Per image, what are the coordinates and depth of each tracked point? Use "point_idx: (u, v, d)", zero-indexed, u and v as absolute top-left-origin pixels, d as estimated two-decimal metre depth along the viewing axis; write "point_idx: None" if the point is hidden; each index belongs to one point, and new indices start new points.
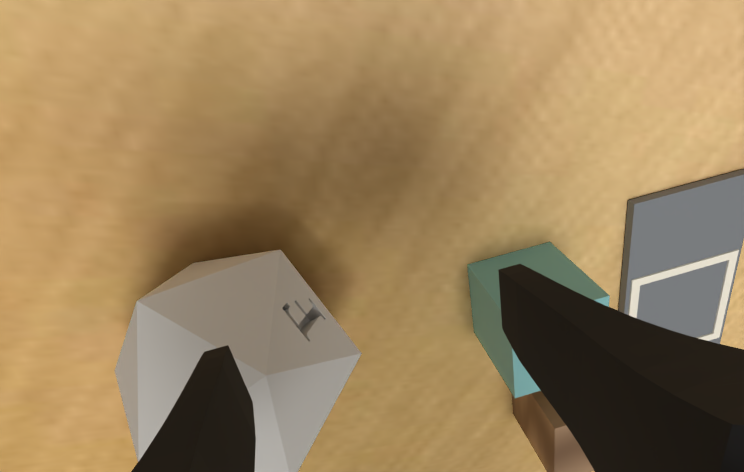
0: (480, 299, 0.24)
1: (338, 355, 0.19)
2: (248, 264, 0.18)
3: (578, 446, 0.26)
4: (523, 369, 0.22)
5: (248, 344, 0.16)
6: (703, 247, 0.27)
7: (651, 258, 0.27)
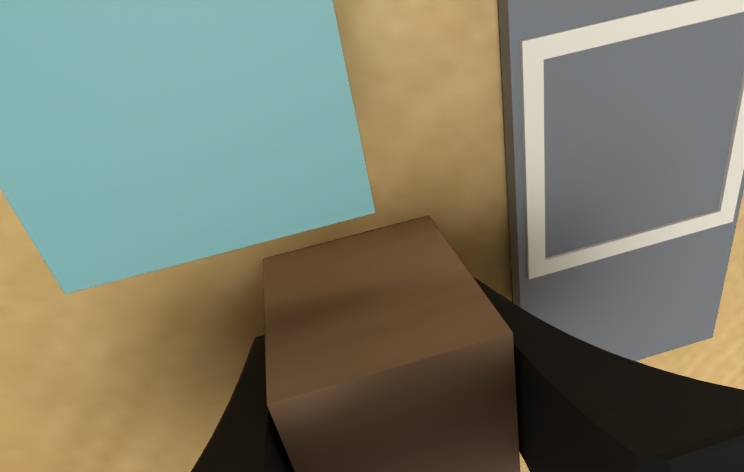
0: None
1: None
2: None
3: (364, 455, 0.10)
4: (37, 175, 0.06)
5: None
6: None
7: None
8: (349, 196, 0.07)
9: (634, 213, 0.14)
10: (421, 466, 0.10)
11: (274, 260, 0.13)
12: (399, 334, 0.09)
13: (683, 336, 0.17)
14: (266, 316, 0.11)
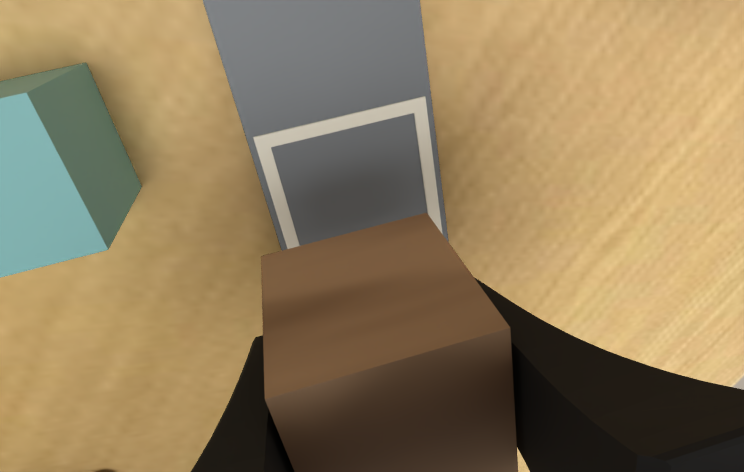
0: None
1: None
2: None
3: (362, 450, 0.10)
4: None
5: None
6: (362, 87, 0.18)
7: (275, 101, 0.17)
8: (91, 242, 0.14)
9: None
10: (419, 461, 0.10)
11: (272, 257, 0.13)
12: (397, 329, 0.09)
13: None
14: (264, 312, 0.11)
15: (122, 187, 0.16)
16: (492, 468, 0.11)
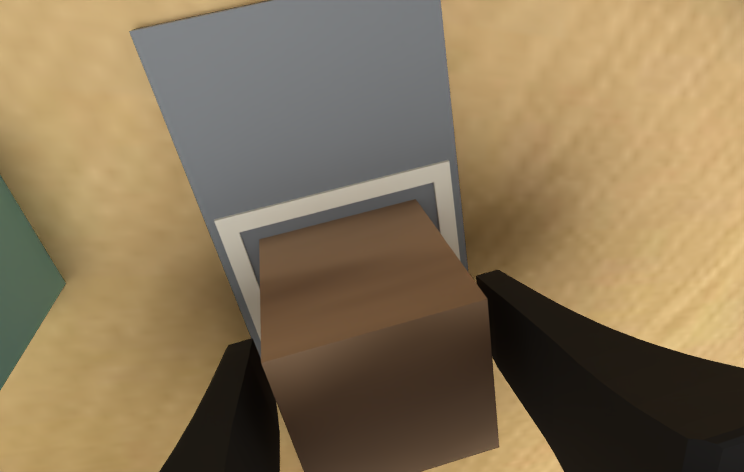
0: None
1: None
2: None
3: (351, 414, 0.10)
4: None
5: None
6: (363, 152, 0.13)
7: (243, 172, 0.13)
8: None
9: None
10: (405, 426, 0.11)
11: (270, 240, 0.13)
12: (384, 302, 0.10)
13: None
14: (261, 288, 0.11)
15: (25, 301, 0.12)
16: (474, 435, 0.12)
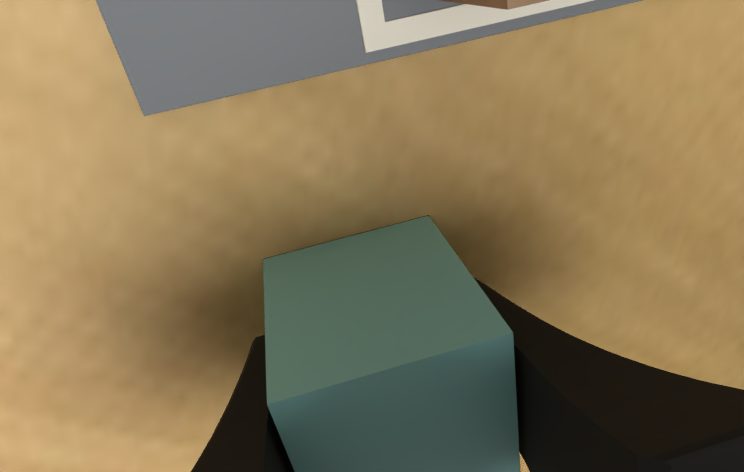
0: None
1: None
2: None
3: None
4: None
5: None
6: None
7: (303, 6, 0.10)
8: (495, 351, 0.09)
9: None
10: None
11: None
12: None
13: None
14: None
15: (424, 257, 0.12)
16: None
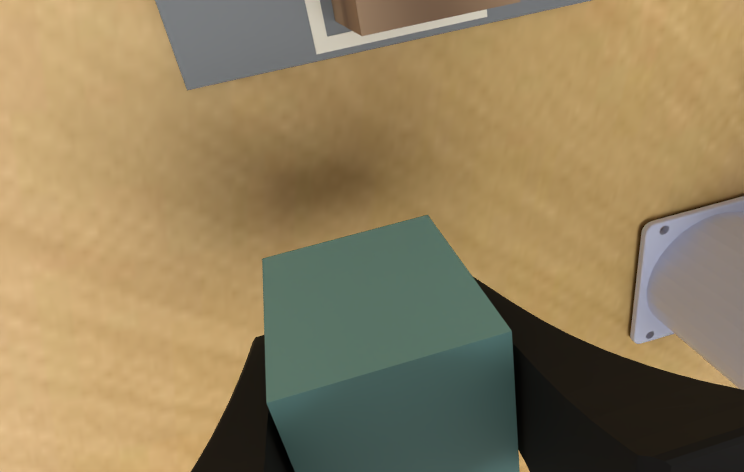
0: None
1: None
2: None
3: None
4: None
5: None
6: None
7: (279, 28, 0.17)
8: (493, 349, 0.09)
9: None
10: None
11: (334, 12, 0.17)
12: None
13: None
14: (346, 26, 0.15)
15: (423, 256, 0.12)
16: None
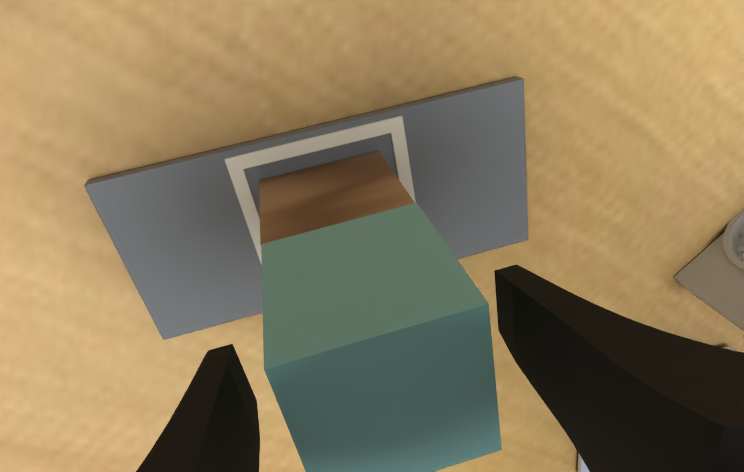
0: None
1: None
2: None
3: None
4: (432, 458, 0.12)
5: None
6: (222, 220, 0.18)
7: (242, 289, 0.20)
8: (472, 321, 0.10)
9: None
10: None
11: None
12: None
13: (513, 113, 0.19)
14: None
15: (410, 240, 0.12)
16: None
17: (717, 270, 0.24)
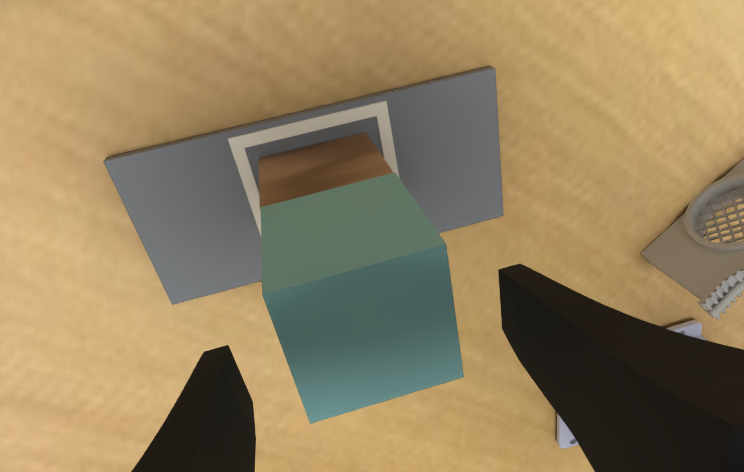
0: None
1: None
2: None
3: None
4: (404, 382, 0.14)
5: None
6: (226, 194, 0.21)
7: (243, 258, 0.22)
8: (433, 259, 0.12)
9: None
10: None
11: None
12: None
13: (486, 98, 0.21)
14: None
15: (387, 200, 0.15)
16: None
17: (678, 245, 0.26)
